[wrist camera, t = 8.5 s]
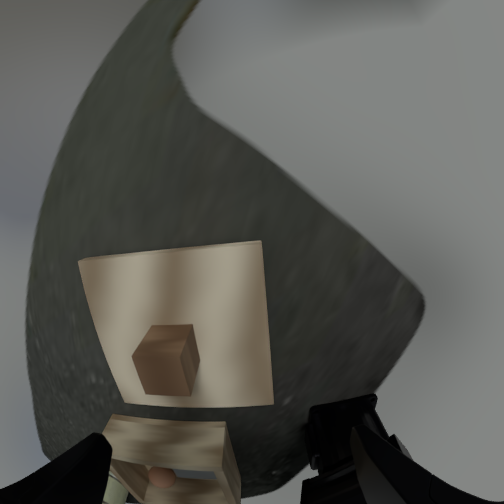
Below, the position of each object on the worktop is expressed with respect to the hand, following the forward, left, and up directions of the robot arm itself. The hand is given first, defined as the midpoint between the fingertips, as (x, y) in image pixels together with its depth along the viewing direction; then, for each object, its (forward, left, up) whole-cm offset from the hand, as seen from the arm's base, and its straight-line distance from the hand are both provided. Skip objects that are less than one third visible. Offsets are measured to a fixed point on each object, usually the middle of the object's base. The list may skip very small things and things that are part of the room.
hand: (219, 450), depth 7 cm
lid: (+4, +2, -12) cm, 13 cm away
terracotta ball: (+11, +20, -11) cm, 26 cm away
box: (+8, +18, -12) cm, 23 cm away
